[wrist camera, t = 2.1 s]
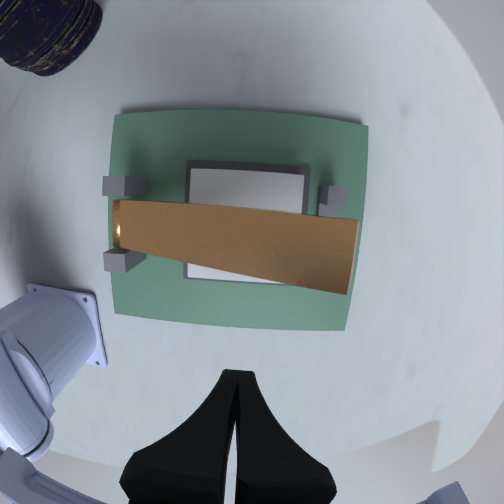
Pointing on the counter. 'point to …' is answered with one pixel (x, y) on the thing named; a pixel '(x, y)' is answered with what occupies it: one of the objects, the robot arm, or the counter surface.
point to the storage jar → (46, 32)
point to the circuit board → (239, 143)
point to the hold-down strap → (242, 240)
